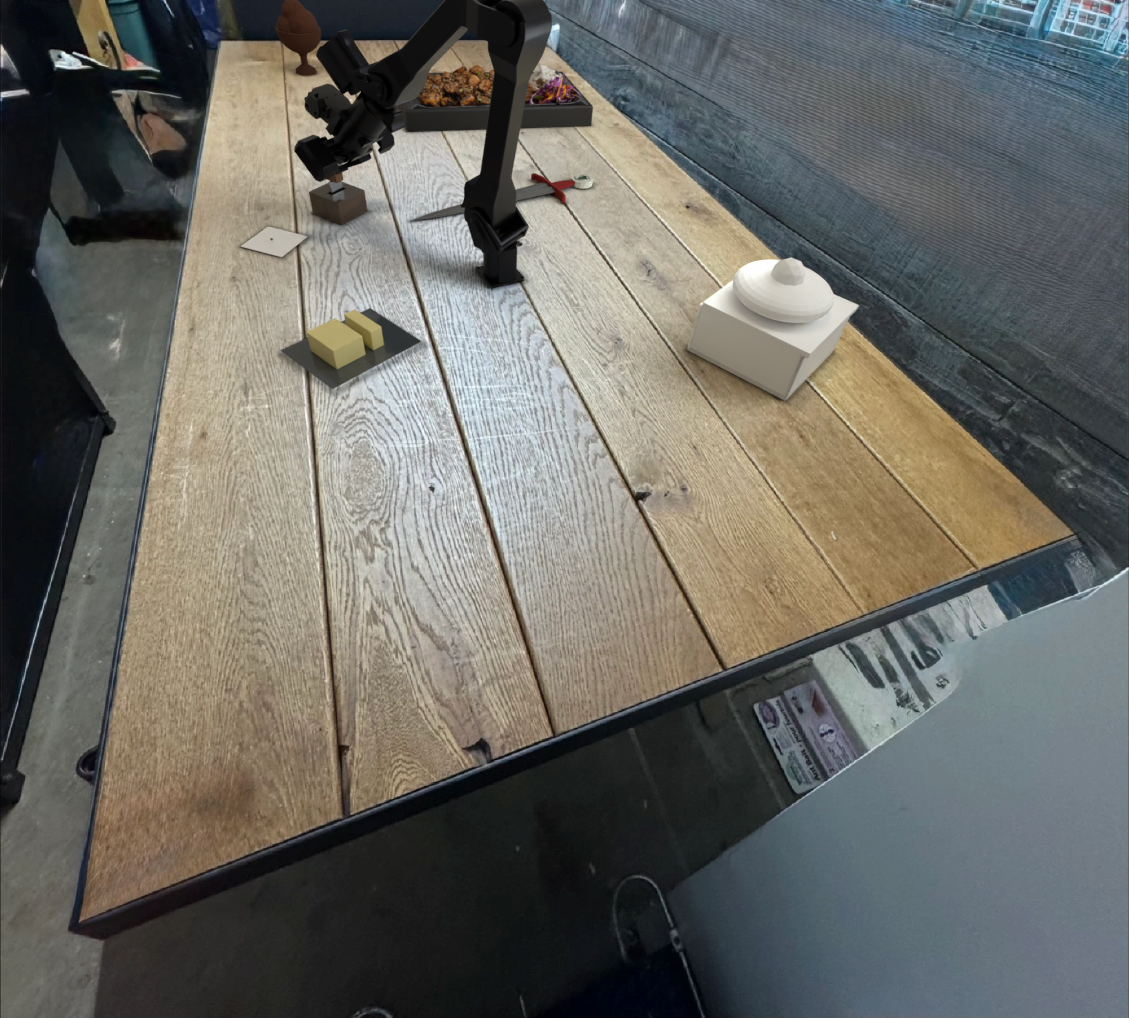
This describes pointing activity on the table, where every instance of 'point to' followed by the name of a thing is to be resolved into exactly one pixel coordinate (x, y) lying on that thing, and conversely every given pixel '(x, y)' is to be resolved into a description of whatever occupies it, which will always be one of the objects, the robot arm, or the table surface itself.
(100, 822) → the table surface
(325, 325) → the butter block
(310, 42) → the ice cream bowl
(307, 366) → the butter board
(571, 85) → the food platter
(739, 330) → the white lidded jar
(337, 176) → the knife
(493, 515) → the table surface
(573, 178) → the dagger
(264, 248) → the coaster
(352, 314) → the butter slice
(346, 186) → the knife stand
